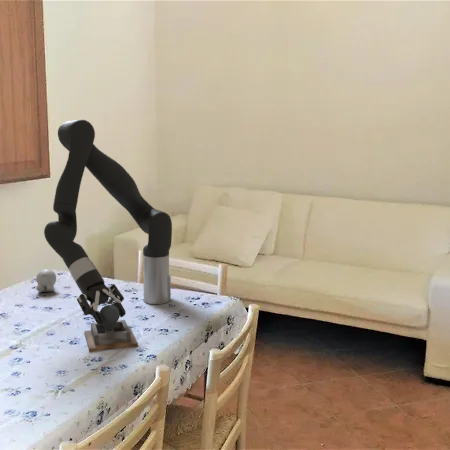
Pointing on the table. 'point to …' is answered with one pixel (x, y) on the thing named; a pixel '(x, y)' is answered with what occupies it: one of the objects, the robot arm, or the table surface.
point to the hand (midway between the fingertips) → (113, 319)
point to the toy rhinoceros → (46, 280)
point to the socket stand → (110, 337)
